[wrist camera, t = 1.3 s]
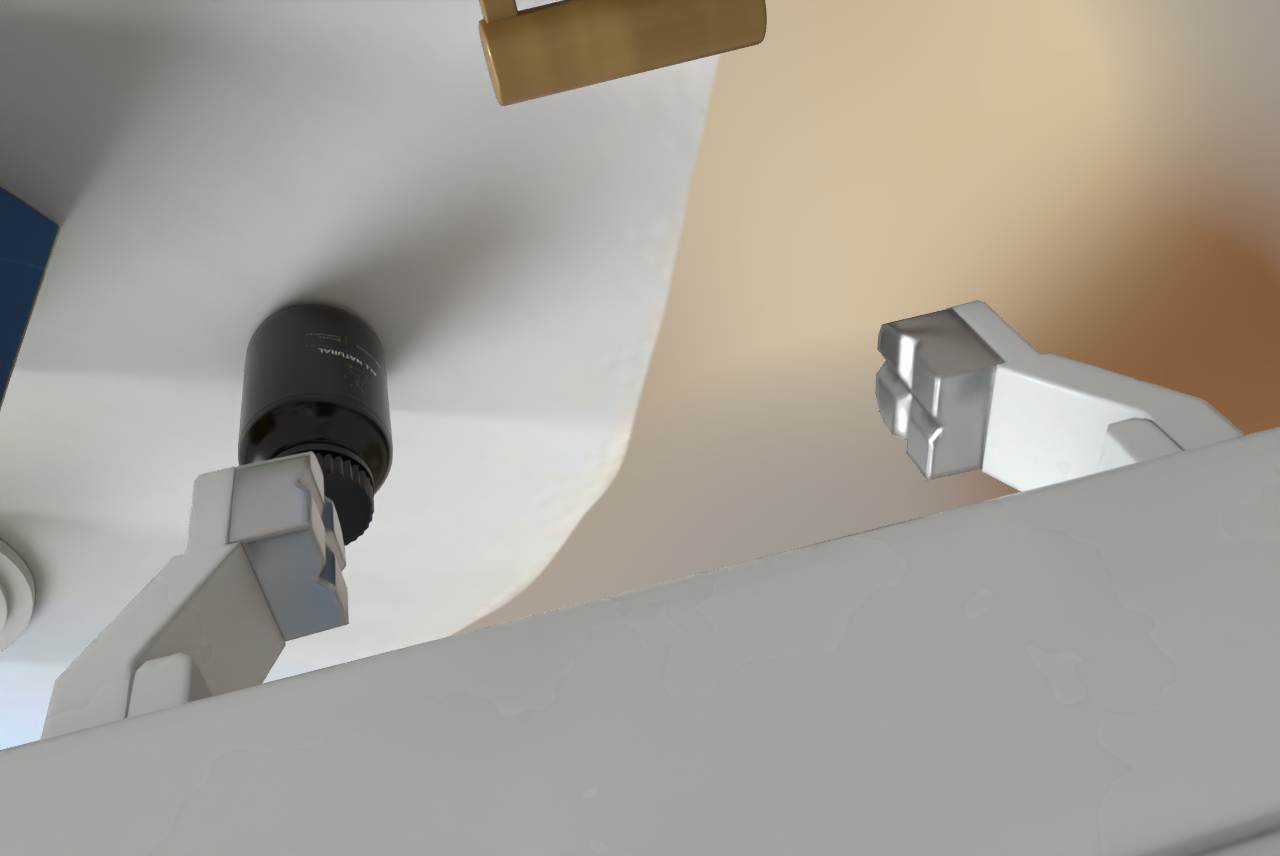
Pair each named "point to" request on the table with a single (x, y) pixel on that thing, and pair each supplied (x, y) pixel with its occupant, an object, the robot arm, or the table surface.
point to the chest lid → (606, 40)
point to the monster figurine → (14, 596)
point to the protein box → (20, 274)
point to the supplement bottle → (320, 404)
